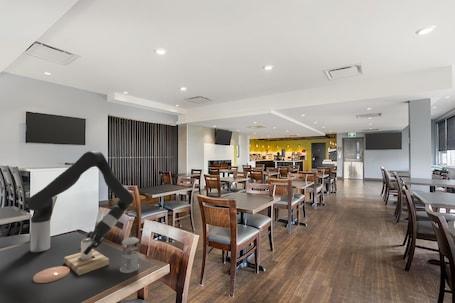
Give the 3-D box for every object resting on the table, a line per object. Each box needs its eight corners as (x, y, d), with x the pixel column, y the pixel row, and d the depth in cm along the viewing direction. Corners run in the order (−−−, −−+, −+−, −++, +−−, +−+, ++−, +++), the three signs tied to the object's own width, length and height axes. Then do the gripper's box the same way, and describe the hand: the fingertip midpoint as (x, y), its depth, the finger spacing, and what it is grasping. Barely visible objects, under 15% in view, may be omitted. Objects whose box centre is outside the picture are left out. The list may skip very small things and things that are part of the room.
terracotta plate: (29, 276, 111) (29, 274, 111) (64, 265, 122) (64, 263, 122) (37, 286, 102) (37, 284, 102) (74, 274, 113) (74, 272, 113)
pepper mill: (79, 262, 124) (79, 239, 124) (89, 258, 128) (90, 236, 128) (83, 265, 120) (83, 241, 120) (93, 261, 124) (94, 239, 124)
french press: (127, 274, 113) (128, 222, 113) (113, 268, 119) (113, 218, 119) (144, 266, 121) (144, 217, 121) (130, 260, 127) (130, 214, 128)
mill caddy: (64, 262, 125) (64, 257, 125) (92, 254, 136) (92, 248, 136) (79, 275, 112) (79, 268, 112) (108, 264, 123) (109, 258, 123)
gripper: (96, 218, 134) (71, 245, 125) (107, 222, 125) (82, 252, 116) (105, 225, 138) (82, 252, 129) (117, 230, 130) (94, 259, 120)
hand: (82, 252), depth 123 cm, fingers closed on pepper mill, 5 cm apart
